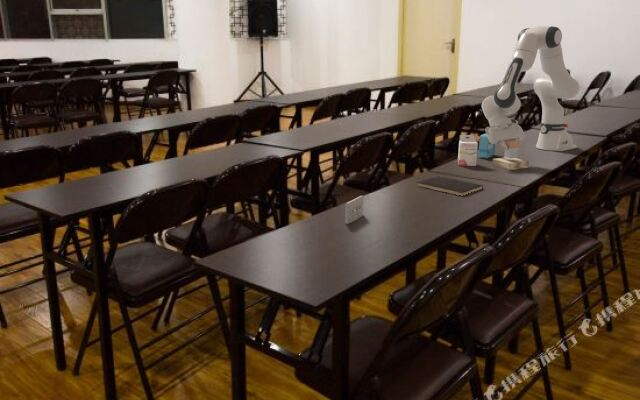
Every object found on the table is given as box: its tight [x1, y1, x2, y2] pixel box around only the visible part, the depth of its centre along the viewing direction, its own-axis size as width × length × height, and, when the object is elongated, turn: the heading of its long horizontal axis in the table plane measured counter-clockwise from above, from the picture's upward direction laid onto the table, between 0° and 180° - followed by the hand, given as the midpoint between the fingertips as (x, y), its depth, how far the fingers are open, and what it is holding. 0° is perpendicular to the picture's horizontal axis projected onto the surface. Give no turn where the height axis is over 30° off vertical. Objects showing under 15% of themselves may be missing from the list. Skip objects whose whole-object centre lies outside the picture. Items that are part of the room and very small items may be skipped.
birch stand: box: [491, 156, 530, 171], centre depth 289 cm, size 12×12×3 cm
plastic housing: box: [503, 140, 520, 159], centre depth 287 cm, size 5×4×8 cm
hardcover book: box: [417, 175, 484, 197], centre depth 255 cm, size 16×23×2 cm
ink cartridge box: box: [457, 134, 479, 167], centre depth 291 cm, size 9×5×15 cm, turn 84°
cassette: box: [344, 195, 364, 225], centre depth 215 cm, size 12×2×8 cm, turn 147°
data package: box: [478, 132, 496, 160], centre depth 308 cm, size 12×4×12 cm, turn 144°
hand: (512, 148), depth 286 cm, fingers closed on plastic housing, 5 cm apart
